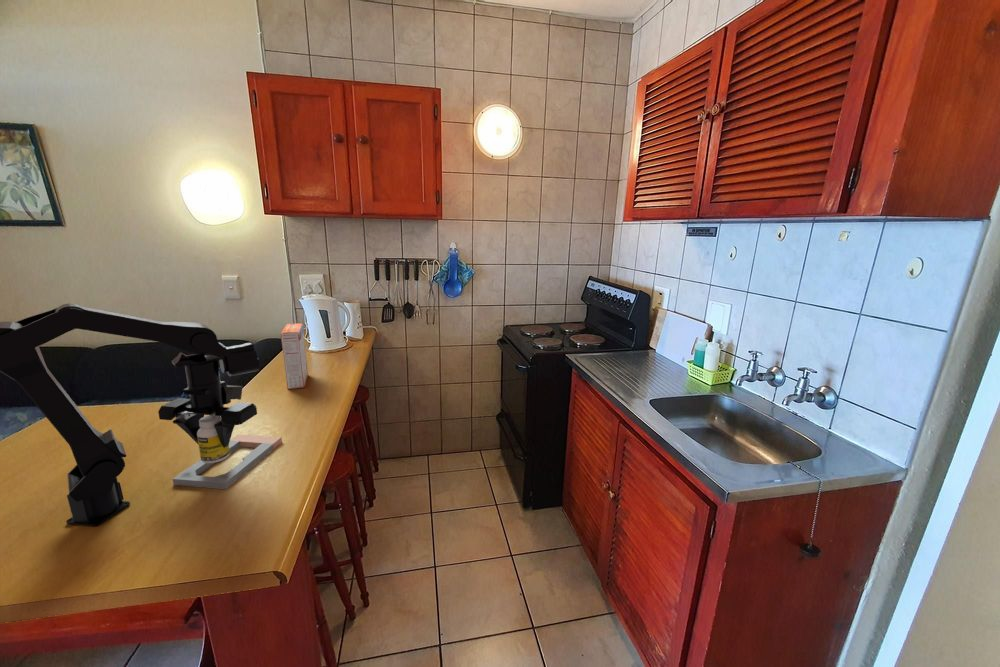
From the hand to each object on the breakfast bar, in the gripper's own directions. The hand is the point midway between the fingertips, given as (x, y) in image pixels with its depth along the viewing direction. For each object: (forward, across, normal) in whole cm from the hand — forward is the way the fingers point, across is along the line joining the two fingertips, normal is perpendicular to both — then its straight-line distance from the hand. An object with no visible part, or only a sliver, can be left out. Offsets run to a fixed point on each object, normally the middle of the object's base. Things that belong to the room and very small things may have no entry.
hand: (213, 445), depth 89 cm
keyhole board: (+7, 0, -5) cm, 8 cm away
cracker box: (+7, +14, -56) cm, 58 cm away
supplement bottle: (+3, 0, 0) cm, 3 cm away
